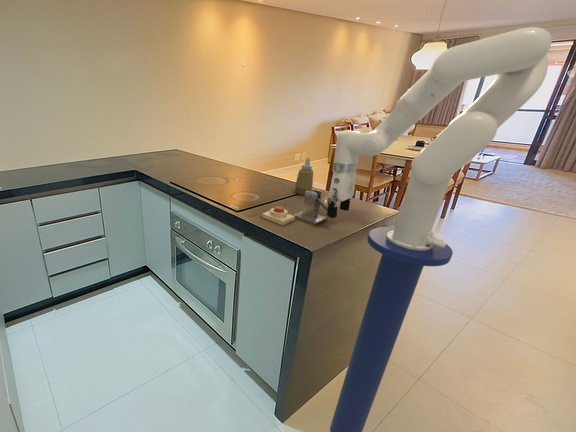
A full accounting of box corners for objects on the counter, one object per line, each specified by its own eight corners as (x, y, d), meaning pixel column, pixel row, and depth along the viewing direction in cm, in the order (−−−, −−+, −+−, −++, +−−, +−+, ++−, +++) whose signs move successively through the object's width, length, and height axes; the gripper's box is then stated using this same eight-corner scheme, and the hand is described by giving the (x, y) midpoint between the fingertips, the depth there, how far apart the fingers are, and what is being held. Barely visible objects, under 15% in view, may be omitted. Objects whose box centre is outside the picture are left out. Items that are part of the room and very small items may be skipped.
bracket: (326, 220, 118) (331, 192, 113) (315, 225, 113) (321, 196, 108) (303, 212, 125) (308, 186, 120) (292, 217, 120) (297, 189, 116)
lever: (334, 218, 112) (340, 213, 110) (330, 220, 110) (336, 215, 108) (310, 194, 118) (315, 189, 115) (306, 196, 116) (311, 190, 114)
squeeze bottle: (290, 192, 150) (295, 157, 142) (303, 190, 153) (308, 155, 145) (301, 197, 143) (308, 160, 136) (314, 195, 146) (321, 159, 139)
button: (285, 211, 117) (285, 207, 117) (279, 214, 115) (280, 209, 115) (277, 209, 120) (278, 205, 119) (272, 211, 118) (272, 207, 117)
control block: (294, 220, 118) (295, 212, 116) (282, 225, 113) (283, 217, 112) (273, 212, 125) (274, 204, 123) (261, 217, 120) (262, 209, 119)
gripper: (343, 173, 96) (336, 222, 102) (366, 165, 106) (358, 209, 112) (321, 170, 101) (316, 216, 107) (345, 162, 111) (338, 205, 117)
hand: (337, 213), depth 109 cm, fingers open, 9 cm apart
